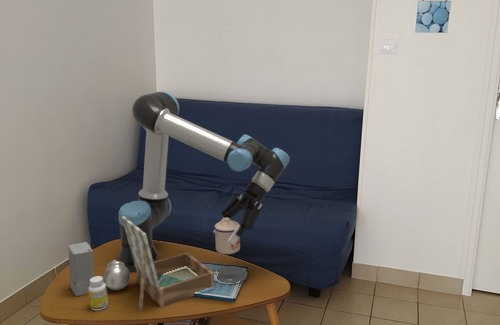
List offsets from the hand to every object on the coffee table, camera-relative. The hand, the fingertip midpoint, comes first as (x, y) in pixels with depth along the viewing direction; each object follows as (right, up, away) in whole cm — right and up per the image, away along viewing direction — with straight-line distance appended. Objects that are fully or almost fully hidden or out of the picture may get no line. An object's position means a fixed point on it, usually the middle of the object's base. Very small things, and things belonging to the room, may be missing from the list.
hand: (223, 238), depth 162 cm
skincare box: (-48, -18, -2) cm, 51 cm away
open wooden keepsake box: (-19, -17, -2) cm, 26 cm away
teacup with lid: (+2, -4, +4) cm, 6 cm away
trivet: (+2, -15, +6) cm, 16 cm away
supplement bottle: (-39, -20, -13) cm, 46 cm away
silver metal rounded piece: (-36, -17, -1) cm, 40 cm away
